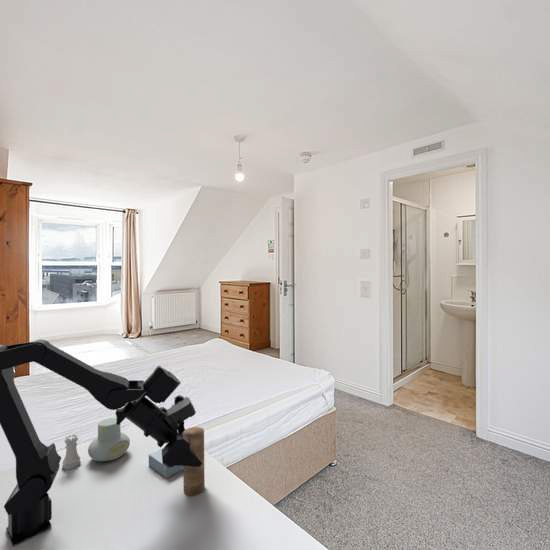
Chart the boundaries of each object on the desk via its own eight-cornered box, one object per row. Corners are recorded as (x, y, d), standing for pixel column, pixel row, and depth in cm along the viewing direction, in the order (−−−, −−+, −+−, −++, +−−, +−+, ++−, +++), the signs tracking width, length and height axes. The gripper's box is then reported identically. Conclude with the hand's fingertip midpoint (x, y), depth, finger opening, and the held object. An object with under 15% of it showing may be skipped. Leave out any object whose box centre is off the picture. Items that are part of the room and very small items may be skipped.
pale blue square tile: (166, 477, 86) (165, 466, 86) (148, 465, 92) (148, 454, 92) (195, 463, 93) (195, 452, 93) (177, 452, 99) (177, 442, 99)
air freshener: (100, 469, 90) (99, 432, 90) (82, 461, 94) (82, 426, 95) (134, 451, 100) (134, 417, 100) (117, 444, 104) (117, 412, 104)
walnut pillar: (191, 498, 78) (190, 438, 78) (179, 489, 81) (178, 432, 81) (208, 488, 81) (208, 430, 82) (196, 480, 85) (196, 425, 85)
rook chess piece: (84, 461, 94) (84, 433, 94) (73, 470, 90) (73, 440, 90) (69, 460, 95) (69, 432, 95) (58, 469, 90) (57, 440, 90)
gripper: (178, 403, 71) (229, 444, 75) (171, 379, 89) (213, 414, 92) (139, 447, 68) (194, 488, 72) (140, 413, 86) (184, 448, 90)
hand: (198, 455), depth 82 cm, fingers open, 9 cm apart
